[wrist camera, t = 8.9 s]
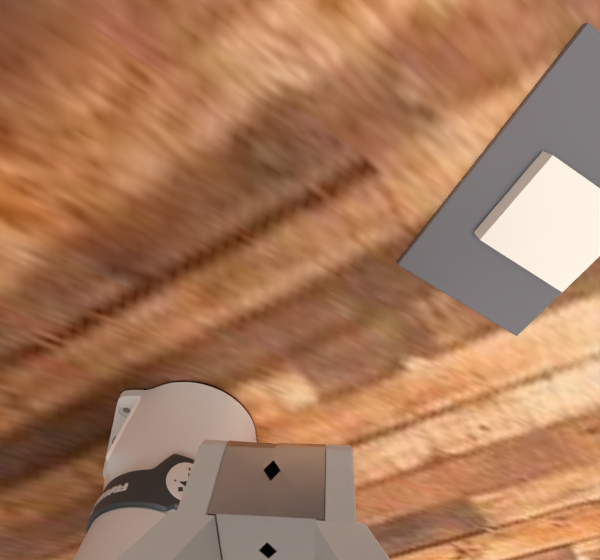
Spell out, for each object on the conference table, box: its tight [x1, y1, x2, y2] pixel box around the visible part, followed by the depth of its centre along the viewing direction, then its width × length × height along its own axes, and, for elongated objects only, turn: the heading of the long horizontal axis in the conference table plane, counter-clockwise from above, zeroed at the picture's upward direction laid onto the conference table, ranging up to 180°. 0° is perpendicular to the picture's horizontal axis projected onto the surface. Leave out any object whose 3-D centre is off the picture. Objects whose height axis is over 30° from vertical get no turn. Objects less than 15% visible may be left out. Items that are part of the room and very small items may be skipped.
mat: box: [397, 23, 600, 336], centre depth 36 cm, size 22×14×1 cm, turn 149°
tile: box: [474, 151, 600, 292], centre depth 36 cm, size 8×2×9 cm
